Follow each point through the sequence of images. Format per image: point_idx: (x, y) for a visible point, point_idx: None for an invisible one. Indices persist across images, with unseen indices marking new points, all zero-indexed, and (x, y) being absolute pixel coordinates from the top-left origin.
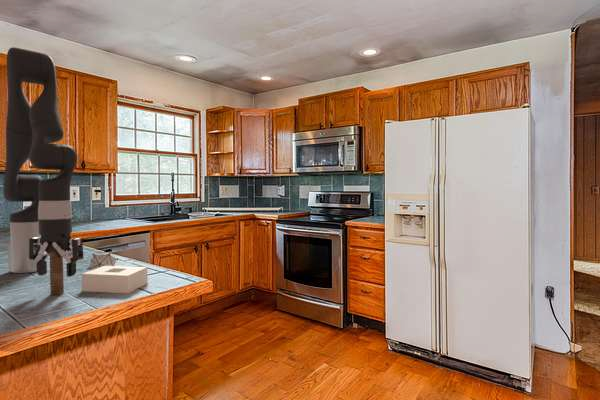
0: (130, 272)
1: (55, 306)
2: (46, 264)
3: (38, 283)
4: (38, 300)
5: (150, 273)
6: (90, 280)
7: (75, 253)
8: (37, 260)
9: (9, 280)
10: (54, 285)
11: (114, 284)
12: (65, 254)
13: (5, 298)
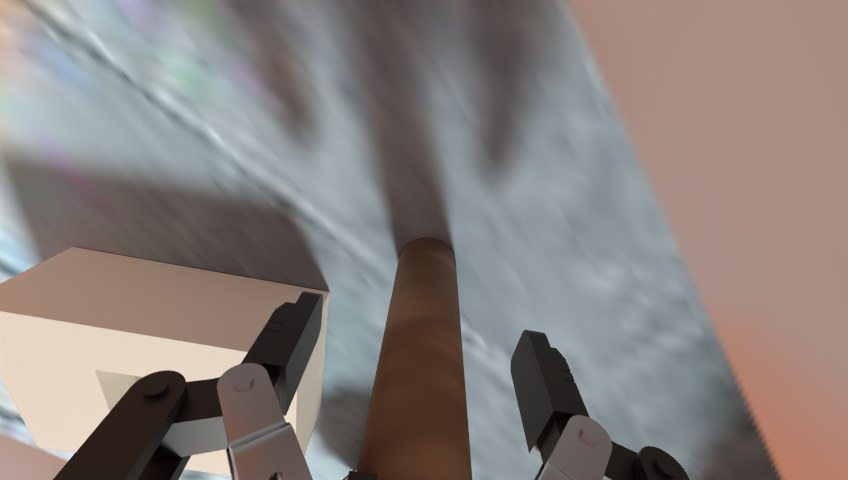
0: (22, 366)
1: (291, 44)
2: (523, 422)
3: (603, 404)
4: (461, 164)
5: (209, 476)
6: (255, 322)
7: (94, 448)
8: (581, 428)
9: (750, 447)
10: (420, 267)
11: (114, 285)
12: (233, 445)
13: (661, 210)
